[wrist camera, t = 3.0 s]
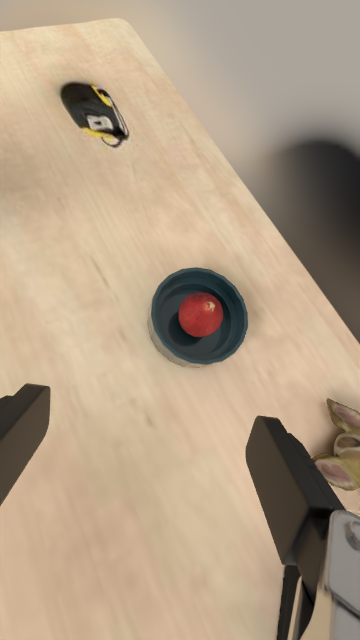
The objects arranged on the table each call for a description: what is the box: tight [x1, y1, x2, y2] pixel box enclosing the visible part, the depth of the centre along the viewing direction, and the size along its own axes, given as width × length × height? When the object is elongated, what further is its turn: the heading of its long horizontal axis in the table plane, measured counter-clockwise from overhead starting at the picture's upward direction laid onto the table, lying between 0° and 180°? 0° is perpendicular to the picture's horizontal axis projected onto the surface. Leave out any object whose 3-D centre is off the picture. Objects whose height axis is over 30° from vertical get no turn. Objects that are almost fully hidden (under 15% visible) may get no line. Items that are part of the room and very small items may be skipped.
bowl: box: [148, 268, 248, 368], centre depth 34 cm, size 13×13×4 cm
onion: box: [179, 292, 223, 337], centre depth 32 cm, size 6×6×8 cm
